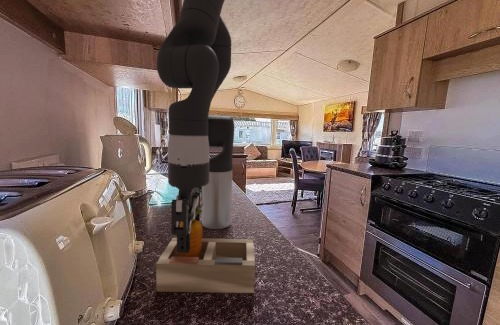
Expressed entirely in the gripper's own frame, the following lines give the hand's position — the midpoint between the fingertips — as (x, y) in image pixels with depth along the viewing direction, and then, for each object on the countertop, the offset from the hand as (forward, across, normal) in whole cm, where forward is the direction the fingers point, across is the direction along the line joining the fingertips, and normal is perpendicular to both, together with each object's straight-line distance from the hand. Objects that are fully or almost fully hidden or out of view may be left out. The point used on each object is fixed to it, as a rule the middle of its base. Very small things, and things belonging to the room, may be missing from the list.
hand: (189, 240), depth 45 cm
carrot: (+8, 0, 0) cm, 8 cm away
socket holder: (+8, 0, +4) cm, 9 cm away
